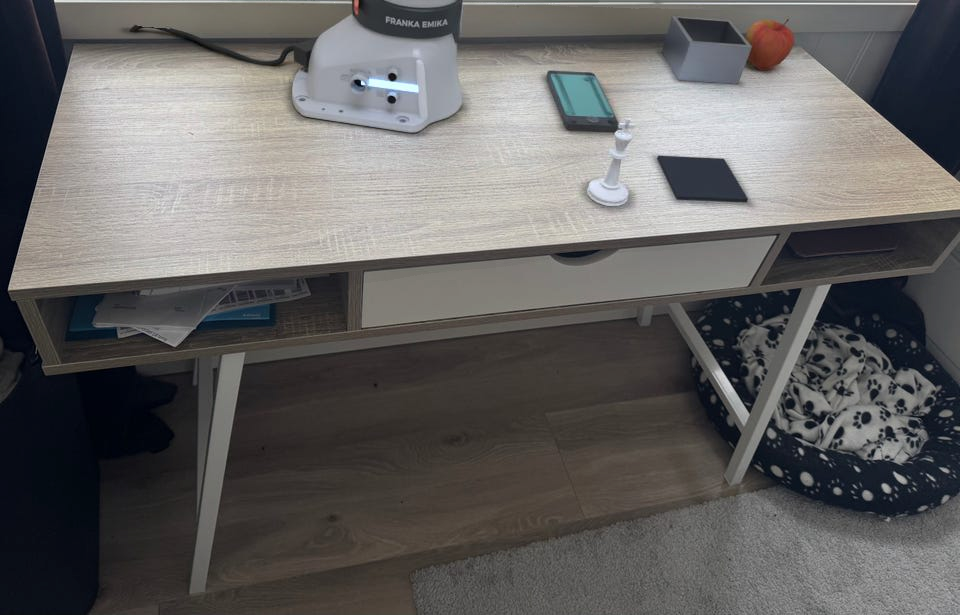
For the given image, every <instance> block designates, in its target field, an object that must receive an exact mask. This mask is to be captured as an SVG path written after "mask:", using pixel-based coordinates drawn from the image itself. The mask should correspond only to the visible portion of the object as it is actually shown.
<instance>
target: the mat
mask: <svg viewBox="0 0 960 615" xmlns="http://www.w3.org/2000/svg"><path fill="white" fill-rule="evenodd" d="M656 159H657V162H658V164H659V166H660V167H661V170H662V172H663V174H664V177H665V179H666V180H667V183H668V185H669V186H670V188H671V190H672V193H673V195H674V197H675V199H676V200H679V201H680V200H681V201H682V200H683V201H706V202H707V201H708V202H731V203H748V200H749V198H748V196H747V195H746V193H745V191H744V190H743V188H742V186H741V185H740V183H739V181H738V180H737V178H736V176H735V175H734V172H733V171H732V170H731V168H730V166H729V164H728V163H727V161H726V159H725V158H722V157H721V158H719V157H718V158H717V157H697V156H679V155H678V156H676V155H657V157H656Z"/></svg>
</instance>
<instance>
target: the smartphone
mask: <svg viewBox="0 0 960 615" xmlns="http://www.w3.org/2000/svg"><path fill="white" fill-rule="evenodd" d="M545 79H546V82H547V84H548V86H549V89H550V91H551V95H552V96H553V99H554V102H555V104H556V107H557V110H558V111H559V115H560V117H561V120H562V123H563V125H564V128H565V129H566V130H567V131H574V132H602V133H615V132H616V131H618V129H619V127H618V124H619V123H620V122H619V121H618V119H617V117H616V115H615V113H614V111H613V109H612V107H611V105H610V103H609V101H608V98H607V97H606V94H605V93H604V90H603V88H602V86H601V84H600V82H599V80H598V78H597V76H596V74H595V73H593V72H591V71H573V70H572V71H571V70H547V72H546V77H545Z"/></svg>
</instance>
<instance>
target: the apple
mask: <svg viewBox="0 0 960 615" xmlns="http://www.w3.org/2000/svg"><path fill="white" fill-rule="evenodd" d="M789 21H790V18H787V19H786V20H785V22H784V23H781V22H779V21H775V20H771V19H761V20H758V21H755V22H754V23H752V25H751V26H750V27H749V28H748V30H747V32H746V35H745V36H744V38H745V39H746V40H747V41H748V43H749V44H750V45H751V46H752V48H751V51H750V53H749V56H748V59H747V61H749V62H750V64H751V65H752V66H754V67H755V68H756V69H757V70H759V71H766V70H769V69H772V68H775V67H777V66H778V65H780V64H781V63H782V62H784V61H785V59H786V58H787V57H788V56H789V54H790V53H791V52H792V49H793V47H794V44H795V34H794V32H793V31H792V30H791V29H790V28H789V27H788V26H786V24H787V23H788V22H789Z"/></svg>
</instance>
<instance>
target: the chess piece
mask: <svg viewBox="0 0 960 615" xmlns="http://www.w3.org/2000/svg"><path fill="white" fill-rule="evenodd" d="M618 123H619V124H618V129H617V131H616V132H614V147H612V148H610V150H609V151H608V154H609V155H610V156H611V157H612V159H611V161H610V164H609V167H608V169H607V172H606V174H605V176H604V177H598V178H595V179H593V180H591V181H590V182H589V184H588V186H587V189H586V193H587V196H588V197H589V198H590V199H591V200H592V201H593V202H595V203H597V204H600V205H602V206H606V207H620V206H622V205H625V204H626V203H627V202H628V199H629V194H630V192H629V190H628V188H627V186H626V185H624V183H622V182H620V181H619V177H620V170H621V165H622V160H625V159H627V158H628V157H629V154H628V151H627V150H626V149H627V147H628V145H629V144H630V143H631V141H632V140H633V137H634V136H633V134H632V133H631V132H630V131H628V130H634V129H635V123H632V122H631V118H630V117H625V119H624V122H618Z"/></svg>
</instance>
